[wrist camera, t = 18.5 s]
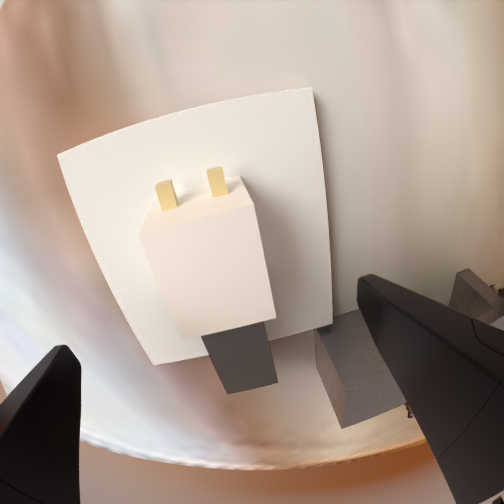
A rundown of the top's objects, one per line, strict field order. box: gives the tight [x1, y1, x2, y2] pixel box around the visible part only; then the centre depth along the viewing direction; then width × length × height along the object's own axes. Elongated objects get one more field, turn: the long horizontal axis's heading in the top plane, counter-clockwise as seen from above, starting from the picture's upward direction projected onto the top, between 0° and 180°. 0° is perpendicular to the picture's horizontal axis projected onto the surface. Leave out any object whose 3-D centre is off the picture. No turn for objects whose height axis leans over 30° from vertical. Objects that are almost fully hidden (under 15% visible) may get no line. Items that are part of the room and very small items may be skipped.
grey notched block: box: [314, 268, 504, 429], centre depth 19 cm, size 14×5×6 cm, turn 101°
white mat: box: [57, 87, 333, 365], centre depth 15 cm, size 12×14×1 cm
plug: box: [138, 166, 278, 394], centre depth 14 cm, size 4×12×4 cm, turn 11°
